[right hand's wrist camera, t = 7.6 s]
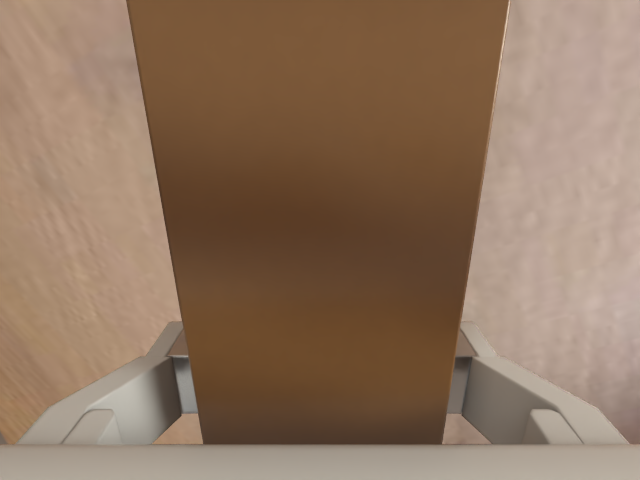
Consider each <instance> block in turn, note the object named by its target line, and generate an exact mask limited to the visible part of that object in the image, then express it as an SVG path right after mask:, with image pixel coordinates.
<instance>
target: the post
mask: <svg viewBox="0 0 640 480" xmlns="http://www.w3.org/2000/svg"><path fill="white" fill-rule="evenodd" d="M126 1H127V7H128V13H129V19H130V24H131V30H132V36H133V42H134V47H135V53H136V59H137V65H138V70H139V76H140V82H141V88H142V93H143V99H144V105H145V111H146V116H147V122H148V128H149V134H150V139H151V145H152V151H153V157H154V162H155V168H156V174H157V180H158V185H159V191H160V197H161V203H162V208H163V214H164V220H165V226H166V231H167V237H168V243H169V249H170V254H171V260H172V266H173V272H174V277H175V283H176V289H177V295H178V301H179V306H180V312H181V318H182V324H183V329H184V335H185V341H186V347H187V352H188V358H189V364H190V370H191V375H192V381H193V387H194V393H195V398H196V404H197V410H198V416H199V421H200V427H201V433H202V439H203V444H442V440H443V433H444V427H445V421H446V414H447V408H448V401H449V395H450V389H451V382H452V376H453V369H454V363H455V356H456V350H457V344H458V337H459V331H460V324H461V318H462V312H463V305H464V299H465V292H466V286H467V280H468V273H469V267H470V260H471V254H472V248H473V241H474V235H475V228H476V222H477V216H478V209H479V203H480V196H481V190H482V184H483V177H484V171H485V164H486V158H487V152H488V145H489V139H490V132H491V126H492V120H493V113H494V107H495V100H496V94H497V88H498V81H499V75H500V68H501V62H502V56H503V49H504V43H505V36H506V30H507V24H508V17H509V11H510V4H511V0H126Z"/></svg>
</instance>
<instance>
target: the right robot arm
mask: <svg viewBox="0 0 640 480" xmlns="http://www.w3.org/2000/svg"><path fill="white" fill-rule="evenodd" d="M189 413H198V410H197V404H196V398H195V393H194V387H193V381H192V375H191V370H190V364H189V358H188V352H187V347H186V341H185V335H184V329H183V324H182V321H172V322H169V323H168V324H167V326H166V327H165V329H164V330H163V332H162V333H161V335H160V336H159V337H158V339H157V340H156V342H155V343H154V345H153V346H152V348H151V349H150V350H149V352H148V353H147V355H146V356H145V357H138V358H136V359H135V360H133V361H131V362H129V363H127V364H126V365H124V366H122V367H120V368H118V369H117V370H115V371H113V372H111V373H109V374H108V375H106V376H104V377H102V378H100V379H98V380H97V381H95V382H93V383H91V384H89V385H88V386H86V387H84V388H82V389H80V390H79V391H77V392H75V393H73V394H71V395H70V396H68V397H66V398H64V399H62V400H60V401H59V402H57V403H55V404H53V405H51V406H50V407H48V408H47V409H46V410H45V411H44V412H43V413H42V415H41V416H40V417H39V418H38V419H37V420H36V421H35V422H34V424H33V425H32V426H31V427H30V428H29V429H28V430H27V431H26V432H25V434H24V435H23V436H22V437H21V438H20V439H19V440H18V441H17V443H16V444H0V480H640V444H629V442H628V441H627V440H626V439H625V438H624V437H623V436H622V435H621V434H620V432H619V431H618V430H617V429H616V428H615V427H614V426H613V425H612V424H611V422H610V421H609V420H608V419H607V418H606V417H605V416H604V415H603V414H602V412H601V411H600V410H599V409H598V408H597V407H595V406H593V405H591V404H589V403H587V402H586V401H584V400H582V399H580V398H578V397H576V396H575V395H573V394H571V393H569V392H567V391H566V390H564V389H562V388H560V387H558V386H556V385H555V384H553V383H551V382H549V381H547V380H546V379H544V378H542V377H540V376H538V375H536V374H535V373H533V372H531V371H529V370H527V369H526V368H524V367H522V366H520V365H518V364H516V363H515V362H513V361H511V360H509V359H507V358H505V357H498V355H497V354H496V352H495V351H494V350H493V348H492V347H491V345H490V344H489V343H488V341H487V340H486V338H485V337H484V336H483V334H482V333H481V331H480V330H479V329H478V327H477V326H476V324H475V323H474V322H472V321H461V324H460V331H459V337H458V344H457V350H456V356H455V363H454V369H453V376H452V382H451V389H450V395H449V401H448V408H447V413H454V414H462V416H463V417H464V418H465V419H466V420H467V421H468V422H470V423H471V424H472V425H473V426H474V427H475V428H476V429H477V430H478V431H479V432H480V433H481V434H482V435H483V436H485V437H486V438H487V439H488V440H489V441H490V442H491V443H492V444H152V443H153V442H154V441H155V440H156V439H157V438H158V437H159V436H160V435H161V434H162V433H164V432H165V431H166V430H167V429H168V428H169V427H170V426H171V425H172V424H173V423H174V422H175V421H176V420H177V419H178V418H180V417H181V416H182V414H189Z"/></svg>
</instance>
